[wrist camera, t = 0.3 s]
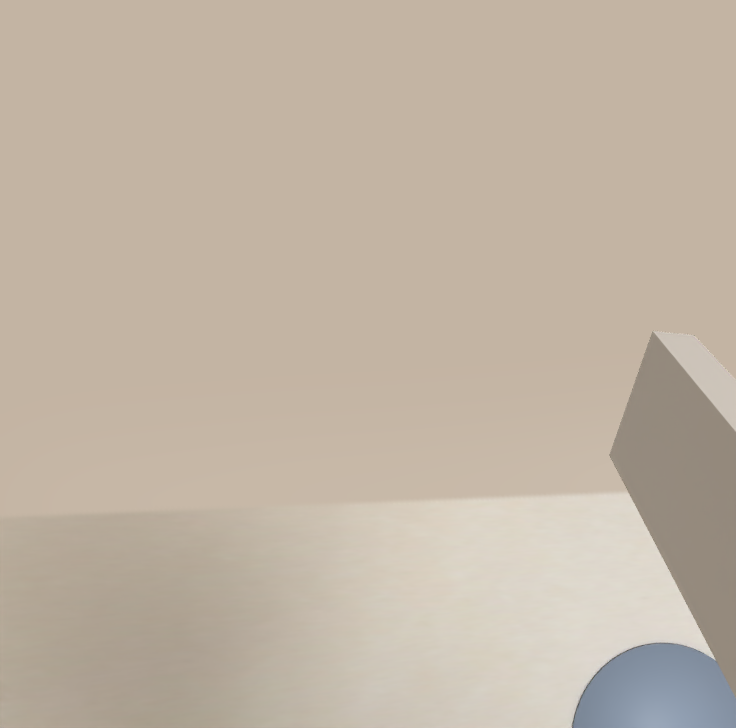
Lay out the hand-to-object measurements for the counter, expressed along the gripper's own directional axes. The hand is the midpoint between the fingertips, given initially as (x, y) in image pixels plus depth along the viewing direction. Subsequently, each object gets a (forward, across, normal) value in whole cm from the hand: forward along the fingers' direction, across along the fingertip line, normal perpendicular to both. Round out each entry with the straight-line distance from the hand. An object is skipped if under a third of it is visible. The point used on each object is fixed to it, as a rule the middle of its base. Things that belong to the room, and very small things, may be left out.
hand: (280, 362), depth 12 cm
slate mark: (+18, -26, +37) cm, 49 cm away
